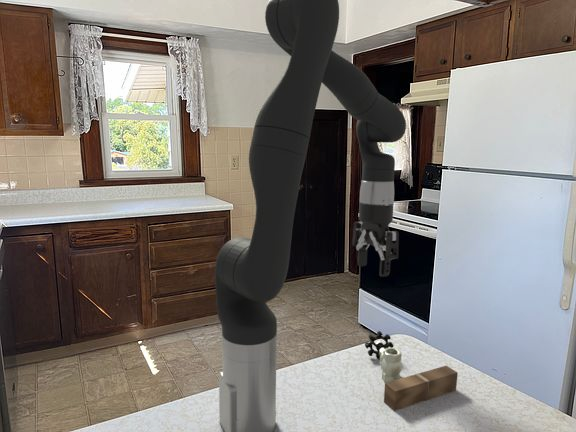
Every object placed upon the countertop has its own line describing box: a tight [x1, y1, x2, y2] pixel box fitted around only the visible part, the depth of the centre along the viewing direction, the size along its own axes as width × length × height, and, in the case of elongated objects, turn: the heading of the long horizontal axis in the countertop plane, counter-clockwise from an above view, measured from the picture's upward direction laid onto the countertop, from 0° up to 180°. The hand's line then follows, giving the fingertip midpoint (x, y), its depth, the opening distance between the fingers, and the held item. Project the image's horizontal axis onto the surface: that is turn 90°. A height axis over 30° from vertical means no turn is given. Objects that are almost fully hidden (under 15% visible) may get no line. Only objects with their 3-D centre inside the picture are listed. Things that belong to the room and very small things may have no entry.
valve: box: [364, 330, 403, 384], centre depth 92 cm, size 7×7×12 cm
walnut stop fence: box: [383, 365, 459, 412], centre depth 83 cm, size 16×3×4 cm, turn 116°
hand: (372, 270), depth 97 cm, fingers open, 8 cm apart
